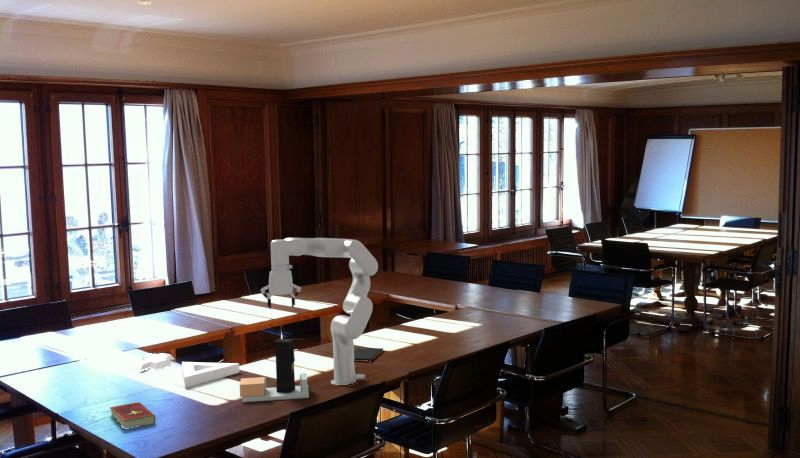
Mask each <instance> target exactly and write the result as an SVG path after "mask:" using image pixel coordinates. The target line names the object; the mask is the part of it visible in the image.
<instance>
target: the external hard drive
mask: <svg viewBox="0 0 800 458" xmlns="http://www.w3.org/2000/svg"><path fill="white" fill-rule="evenodd" d="M366 348H367V349H360V348H359V347H357V348H356V349H354V360H368V361H370V360H371V359H373V358H374V357H375V356H376V355H377V354H378V353H379V352H381V351H382V350H383V349H384V348H381V347H380V348H379V347H366Z"/></svg>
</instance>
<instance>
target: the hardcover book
mask: <svg viewBox="0 0 800 458" xmlns="http://www.w3.org/2000/svg"><path fill="white" fill-rule="evenodd" d="M109 409H110V411H111V413H110V414H112V415H113V416H114V417H115V418H116V419H117V420H118V422H119V423H120V424H121V425H122V426H123V427H124V428H131V427H136V426H141V427H143V426H142V425H146V426H149V425H150V426H151V425H154V424H155V425H156V416H155V414H154V413H153V412H152V411H151V410H150V409H148V408H147V407H146V406H145V405H143V404H142V403H141V402H140V401H135V402H131V403H125V404H121V405H115V406H110V407H109ZM112 415H111V416H112ZM113 416H112V417H113ZM114 417H113V418H114ZM115 418H114V419H115ZM118 422H117V423H118ZM119 423H118V424H119ZM120 424H119V425H120Z"/></svg>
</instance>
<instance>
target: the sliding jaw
mask: <svg viewBox="0 0 800 458" xmlns="http://www.w3.org/2000/svg"><path fill="white" fill-rule="evenodd" d="M266 380H267V377H266V376H261V377H260V376H259V377H247V378H246V377H245V378H244V377H243V378H240V382H239V396H240V397H239V398H243V397H249V396H263V395H266V388H267V381H266Z"/></svg>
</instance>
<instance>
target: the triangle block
mask: <svg viewBox="0 0 800 458" xmlns="http://www.w3.org/2000/svg"><path fill="white" fill-rule="evenodd" d="M181 370H182V377H183V382H184V388H188V387H189V388H190V387H192V386H196V385H200V384H203V383H207V382H210V381H211V382H212V381H214V380H217V379H221V378H225V377H229V376H232V375H235V374H239V373H240V363H237V362H235V363H234V362H232V363H231V362H200V361H199V362H197V361H195V362H194V361H181Z"/></svg>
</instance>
